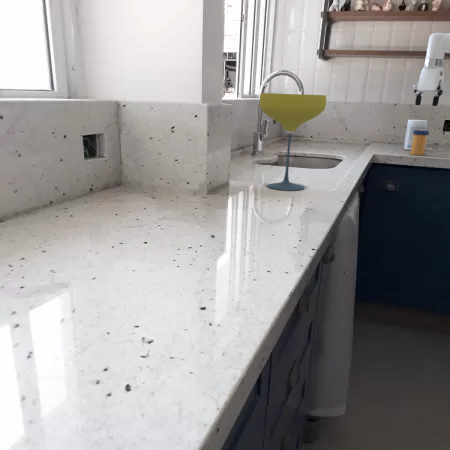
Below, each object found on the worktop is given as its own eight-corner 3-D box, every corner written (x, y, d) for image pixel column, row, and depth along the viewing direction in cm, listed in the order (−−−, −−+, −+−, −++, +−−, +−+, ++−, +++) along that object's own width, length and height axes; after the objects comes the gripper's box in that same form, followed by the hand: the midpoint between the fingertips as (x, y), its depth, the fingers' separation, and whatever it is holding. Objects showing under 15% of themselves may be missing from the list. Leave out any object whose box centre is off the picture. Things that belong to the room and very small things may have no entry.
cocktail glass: (316, 195, 131) (327, 95, 121) (251, 190, 134) (256, 92, 124) (317, 184, 147) (326, 95, 138) (258, 180, 150) (263, 93, 140)
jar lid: (431, 135, 229) (432, 130, 228) (422, 135, 225) (423, 131, 225) (418, 133, 234) (419, 129, 234) (409, 134, 231) (410, 129, 230)
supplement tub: (426, 151, 250) (432, 120, 245) (413, 151, 247) (418, 120, 241) (412, 148, 258) (417, 119, 253) (399, 149, 254) (404, 119, 249)
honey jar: (426, 155, 233) (431, 131, 229) (418, 155, 229) (423, 132, 225) (415, 153, 238) (419, 130, 233) (407, 154, 234) (411, 131, 230)
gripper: (456, 64, 213) (447, 106, 220) (421, 65, 226) (414, 104, 233) (446, 63, 209) (438, 106, 216) (412, 64, 222) (405, 104, 229)
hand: (426, 105), depth 225 cm, fingers open, 8 cm apart
